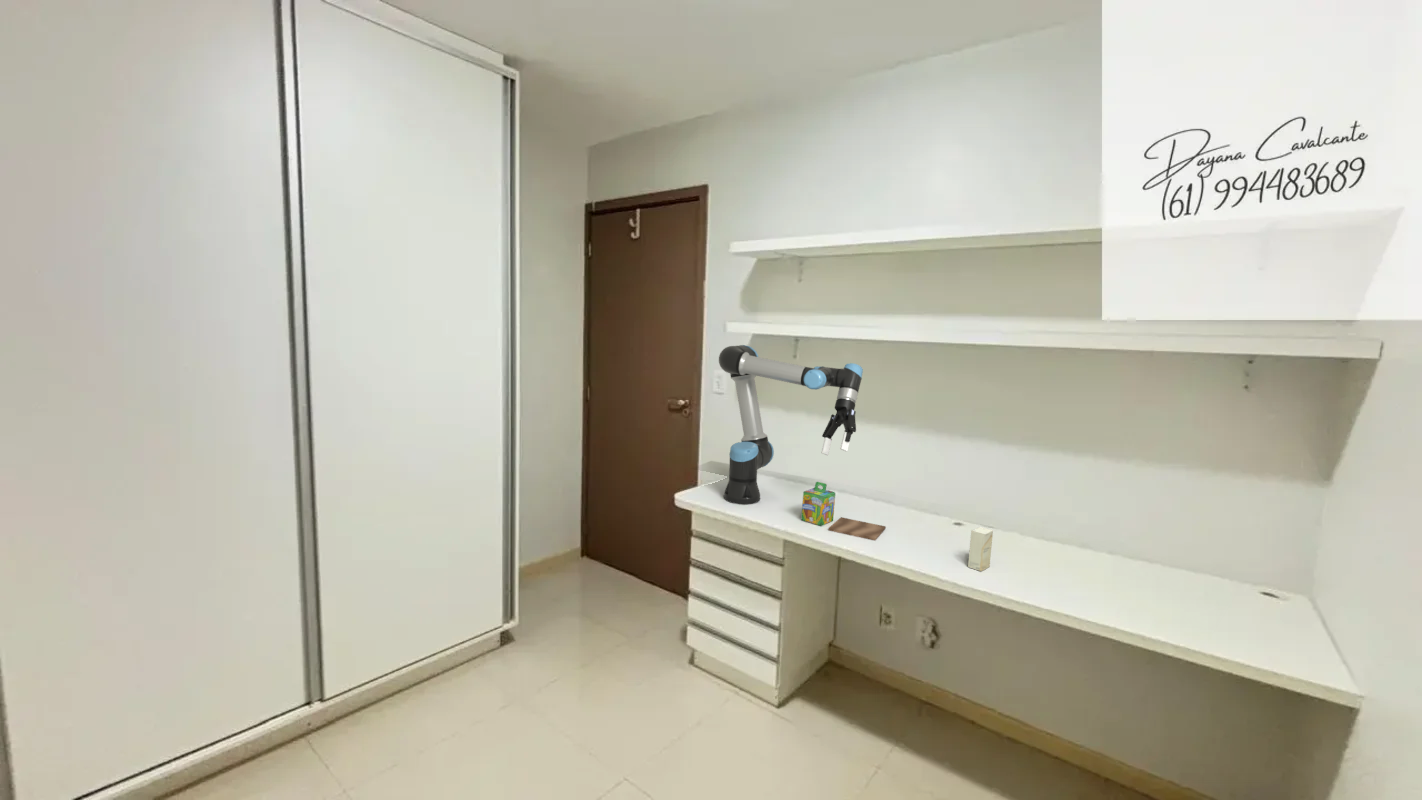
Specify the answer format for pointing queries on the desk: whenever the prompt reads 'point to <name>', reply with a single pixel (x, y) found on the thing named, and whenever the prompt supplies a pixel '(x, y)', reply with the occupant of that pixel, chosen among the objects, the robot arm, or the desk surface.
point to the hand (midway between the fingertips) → (833, 452)
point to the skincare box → (980, 548)
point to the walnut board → (857, 528)
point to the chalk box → (818, 505)
